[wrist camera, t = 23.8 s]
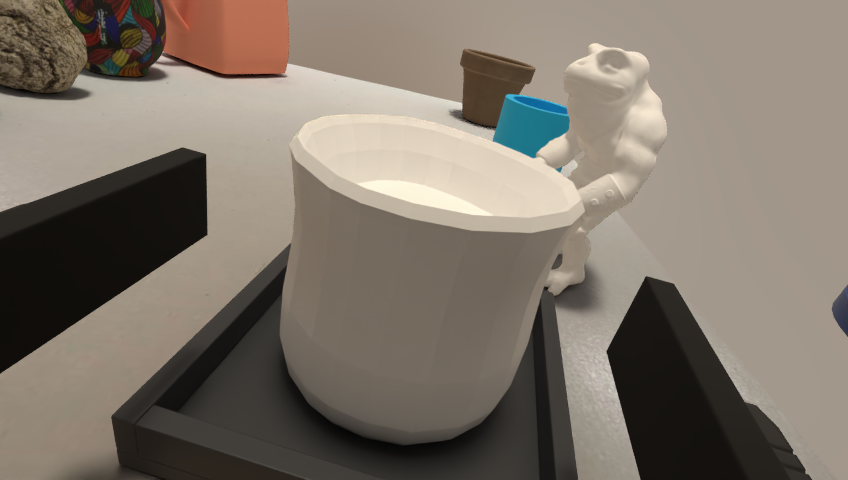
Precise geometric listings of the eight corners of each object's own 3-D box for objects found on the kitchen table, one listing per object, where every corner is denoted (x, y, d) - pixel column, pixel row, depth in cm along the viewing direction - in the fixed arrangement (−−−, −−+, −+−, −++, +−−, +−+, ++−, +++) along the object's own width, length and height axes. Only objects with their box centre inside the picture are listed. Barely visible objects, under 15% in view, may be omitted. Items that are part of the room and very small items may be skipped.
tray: (540, 324, 26) (553, 292, 25) (562, 613, 13) (591, 572, 12) (306, 256, 27) (310, 223, 26) (118, 464, 14) (110, 416, 13)
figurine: (615, 317, 29) (740, 76, 22) (517, 301, 28) (614, 46, 21) (564, 238, 38) (640, 53, 31) (490, 224, 37) (551, 31, 31)
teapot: (310, 77, 76) (319, -16, 69) (192, 80, 58) (188, -44, 51) (230, 49, 83) (230, -37, 76) (102, 44, 65) (89, -69, 59)
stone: (56, 105, 40) (34, -20, 36) (-55, 81, 40) (-91, -49, 35) (104, 94, 46) (90, -16, 41) (7, 72, 45) (-18, -41, 41)
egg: (37, 62, 50) (8, -98, 44) (117, 57, 60) (103, -76, 53) (119, 86, 49) (103, -76, 42) (187, 77, 59) (183, -56, 52)
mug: (560, 197, 47) (589, 122, 44) (485, 180, 47) (508, 102, 44) (544, 164, 58) (567, 101, 54) (483, 149, 58) (501, 85, 54)
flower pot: (511, 121, 79) (530, 61, 74) (521, 138, 69) (542, 70, 64) (448, 106, 78) (462, 45, 74) (448, 121, 68) (464, 51, 64)
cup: (313, 279, 24) (334, 96, 20) (494, 318, 24) (555, 147, 20) (233, 424, 16) (237, 161, 11) (511, 482, 16) (624, 248, 11)
